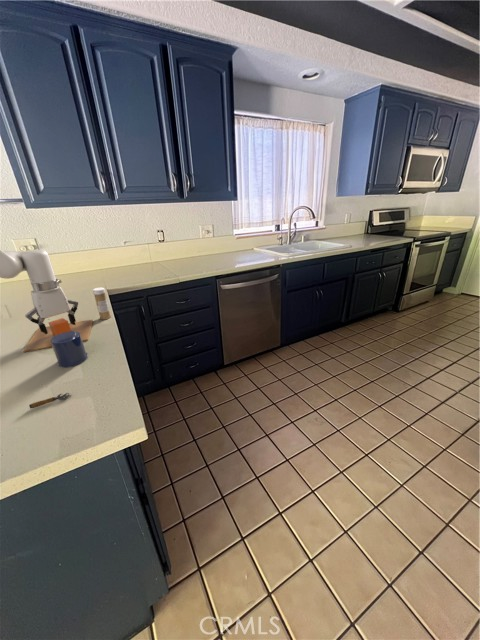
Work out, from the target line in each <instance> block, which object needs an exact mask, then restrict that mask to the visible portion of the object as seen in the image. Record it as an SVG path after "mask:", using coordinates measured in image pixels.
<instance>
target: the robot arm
mask: <svg viewBox="0 0 480 640" xmlns="http://www.w3.org/2000/svg"><path fill="white" fill-rule="evenodd" d="M22 272H26V273H27V276H28V279H29V281H30V284H31V288H32V290H31V291H30V296H31V300H32V305H33V308H31V310H30V311H29V312H27V313H26V314H25V315H24V317H25V318H26V319H27V320H29V321H30V322H32V323H33V324H37V325H38V328H40V331H41V332H43V333H45V334H47V333H48V332H47V329H46V327H47V326H46V324H45V323H44V321H45V320H46V319H48V318H51V317H55V316H56V317H57V316H58V315H63V314H66V313H68V314H67V317H68V321H69V323H71V324H73V325H75V322H77V320H76V316H75V315H76V312H77V310H78V306H79V301H77V300H72V299H68V298H67V296H66V294H65V292H64V291H63V288H62V287H61V286H60V285H59V284H61V283H62V279H60V278H59V279H58V278H57V277H56V274H55V271H54V268H53V265H52V262H51V259H50V255H49V253H48V252H47V250H45V249H31V250H30V249H29V250H22V251H21V250H19V251H18V250H17V251H16V250H5V251H4V250H2V249H1V248H0V279H5V280H6V279H7V280H8V279H14V278H16V277H18V276H19V275H20V274H21V273H22ZM70 305H72V307H70ZM35 314H36V316H37V319H36V318H35V317H33V316H34V315H35Z"/></svg>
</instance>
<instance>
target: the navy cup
mask: <svg viewBox="0 0 480 640" xmlns="http://www.w3.org/2000/svg"><path fill="white" fill-rule="evenodd" d="M50 342H51V344H52V347H51V348H52V349H53V352H54V355H55V358H56V361H57V363H56V364H57V366H58V367H60V368H70V367H71V368H72V367H75V366H79V365H80V364H82V363H84V362H86V361H87V360H88V357H89V356H88V352H87V351H86V348H85V345H84V341H82V338H81V335H80V333H79V332H77V331H70V332H64V333H61V334H58V335H56V336H54V337H53V338H51V340H50Z"/></svg>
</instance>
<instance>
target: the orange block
mask: <svg viewBox="0 0 480 640" xmlns="http://www.w3.org/2000/svg"><path fill="white" fill-rule="evenodd" d="M47 323H48V327H49V326H50V329H51V331H52V334H53V335H55V336H56V335H58V334H61V333H64V332H70V331H71V329H70V326H69V323H70V322H69V320H67V319H65V318H63V317H61V318H58V319H55V320H51V321H49V322H47Z"/></svg>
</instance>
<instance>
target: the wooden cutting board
mask: <svg viewBox="0 0 480 640" xmlns="http://www.w3.org/2000/svg"><path fill="white" fill-rule="evenodd" d="M68 323H69V326H70V329H71V331H77V332H79V333H80V335H81V338H82V341H83V342H88V341H89V339H90V335H91V330H92V326H93V323H94V319H87V320H80V321H76V322H75V325H73V324H71V323H70V322H68ZM46 329H47V332H48V333H47V334H45V333H43V332H41V331H40V328H39V327H38V328H37V329H36V331H35V332H34V334H33V336H31V338H30V339H29V341H28V342H27V344H26V346H25V347H24V349H22V353H28V352H33V351H39V350H45V349H50V348H51V349H52V348H53V347H52V344H51V342H50V340H51V338H53V337H54V336H55V335H53V334H52V331H51V329H50V326H49V325H48V326H46Z"/></svg>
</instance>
